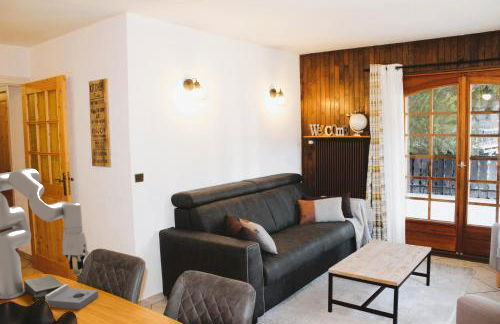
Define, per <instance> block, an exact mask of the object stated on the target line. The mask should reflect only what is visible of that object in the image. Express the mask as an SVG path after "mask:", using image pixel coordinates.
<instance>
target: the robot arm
mask: <svg viewBox="0 0 500 324" xmlns="http://www.w3.org/2000/svg"><path fill="white" fill-rule="evenodd" d="M40 181H41V175H40V173H39V171H37V170H36V169H34V168H32V167H30V168H29V167H27V168H23V169H17V170H16V169H15V170H14V171H9V172H8V171H7V172H2V173H0V230H5V229H8V230H6V231H2V232H0V299H1V300H11V299H14V298H15V299H16V298H18V297H21V296H23V295H25V294H26V293H27V292H26V290H25V289H24V283H23V274H22V273H23V272H22V264H21V256H20V254H19V253H18V251H16V249H18V248H21V247H23V246H26V245H27V244H29V243H30V242H31V239H32V232H31V228H30V224H29V221H28V216H27V214H26V212H25V210H24V209H23V208H22V207H20V206H17V205H16V206H9V202H8V199H7V198H6V196H5V195H4V194H2V191H8V190H17V191H18V192H19V193H20V194H22V195H23V196H24V197H25V198H26V199H28V204H29V206H30V209H31V211H32V212H33V214H34V215H36V216H37V217H38V218H39V219H40V220H42V221H44V222H53V221H56V220H61V219H63V224H64V227H63V228H62V230H63V231H64V233H63V235H62V247H61V248H62V253H61V254H62V255H63V256H64V257H65V258H67V261H68V263H69V270H73V267H72V255H74V256H78V262H77V263H78V270H80V269H81V270H82V269H84V265H85V264H84V260H85V259H86V258H87V257H88V256H89V255H90V252H89V251H88V246H87V240H86V236H85V232H84V229H83V220H82V219H83V218H82V208H81V204H80V203H78V202H68V201H58V202H57V201H56V202H53V203H51V204H50V203H49V204H47V203H45V202H44V201H43V200H42V199H41V198H42V195H43V194H44V192H45V187H44V185H43V184H41V183H40ZM9 228H12V229H9Z"/></svg>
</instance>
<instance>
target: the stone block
mask: <svg viewBox="0 0 500 324" xmlns="http://www.w3.org/2000/svg"><path fill="white" fill-rule="evenodd" d="M63 285H64V284H63V283H62V282H61V281H60V280H59V279H57V278H55V277H54V276H53V275H52V274H51V275H47V276H46V275H45V276H40V277H36V278H30V279H24V280H23V287H24V289H25V290H26V293H27V294H28V295H29V296H30V297H32V299H33V300H35V301H38V300H37V299H40V300H43V299H45V296H46V295H47V294H49V293H51V292H53V291H54V290H56V289H58V288H59V287H61V286H63Z"/></svg>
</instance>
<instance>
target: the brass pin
mask: <svg viewBox="0 0 500 324" xmlns="http://www.w3.org/2000/svg"><path fill="white" fill-rule="evenodd" d="M77 262H78V256H74V255H72V267H73V269H72V275H79V274H82V269H80V270H78V263H77Z"/></svg>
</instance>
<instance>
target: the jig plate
mask: <svg viewBox="0 0 500 324" xmlns="http://www.w3.org/2000/svg"><path fill="white" fill-rule="evenodd" d="M99 296H100V295H99V290H97V289H85V288H69V284H68V283H65V284H63V286H61V287H59V288H58V289H56V290H54V291H53V292H51V293H49V294H47V295H46V296H45V298H44V299H45V300H44V301H45V302H46V301H47V302H48V304H49V305H50V308H51V307H52V308H61V309H74V310H82V309H83V308H85V307H86V306H87V305H89V304H90V303H91V302H93V301H94V300H96V299H97V298H98V297H99Z"/></svg>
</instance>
